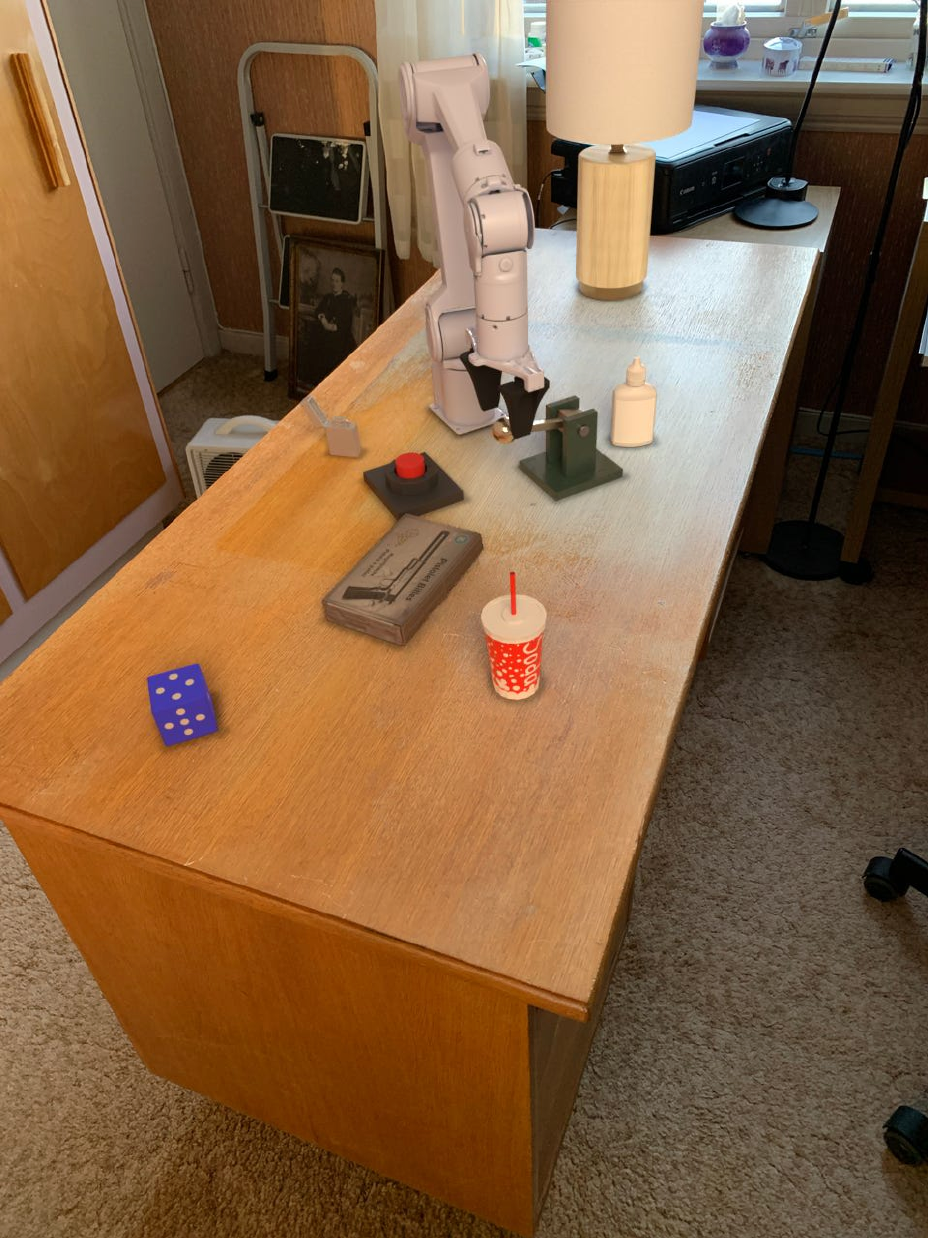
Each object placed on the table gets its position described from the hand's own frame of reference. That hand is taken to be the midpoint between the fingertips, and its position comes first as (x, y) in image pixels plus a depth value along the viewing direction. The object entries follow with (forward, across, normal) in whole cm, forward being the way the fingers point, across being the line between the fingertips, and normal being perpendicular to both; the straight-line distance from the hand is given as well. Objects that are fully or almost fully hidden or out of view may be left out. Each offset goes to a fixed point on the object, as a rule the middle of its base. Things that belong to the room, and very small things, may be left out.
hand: (505, 421), depth 108 cm
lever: (+4, 0, +4) cm, 6 cm away
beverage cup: (+11, +29, -16) cm, 35 cm away
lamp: (+11, -46, +47) cm, 67 cm away
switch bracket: (+10, 0, +9) cm, 14 cm away
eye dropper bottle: (+11, -2, +20) cm, 23 cm away
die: (+11, +17, -46) cm, 50 cm away
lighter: (+11, -22, -15) cm, 29 cm away
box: (+11, +10, -19) cm, 24 cm away
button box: (+10, -8, -10) cm, 16 cm away
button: (+8, -8, -10) cm, 14 cm away
